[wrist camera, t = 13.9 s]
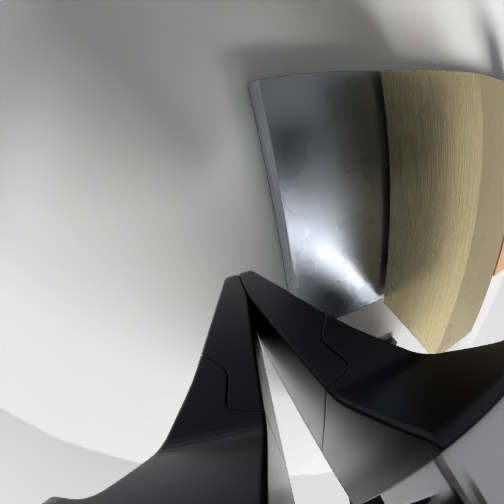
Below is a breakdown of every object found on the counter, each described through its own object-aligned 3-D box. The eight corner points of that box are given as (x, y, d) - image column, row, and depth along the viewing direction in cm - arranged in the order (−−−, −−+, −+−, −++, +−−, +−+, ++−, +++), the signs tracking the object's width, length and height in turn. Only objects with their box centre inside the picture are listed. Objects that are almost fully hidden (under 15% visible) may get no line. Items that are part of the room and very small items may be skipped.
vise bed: (500, 219, 18) (550, 252, 12) (292, 314, 16) (344, 408, 10) (507, 90, 12) (570, 109, 6) (247, 83, 9) (335, 56, 4)
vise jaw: (420, 283, 15) (470, 331, 11) (383, 302, 15) (433, 358, 11) (426, 73, 9) (514, 84, 5) (379, 70, 8) (478, 73, 4)
